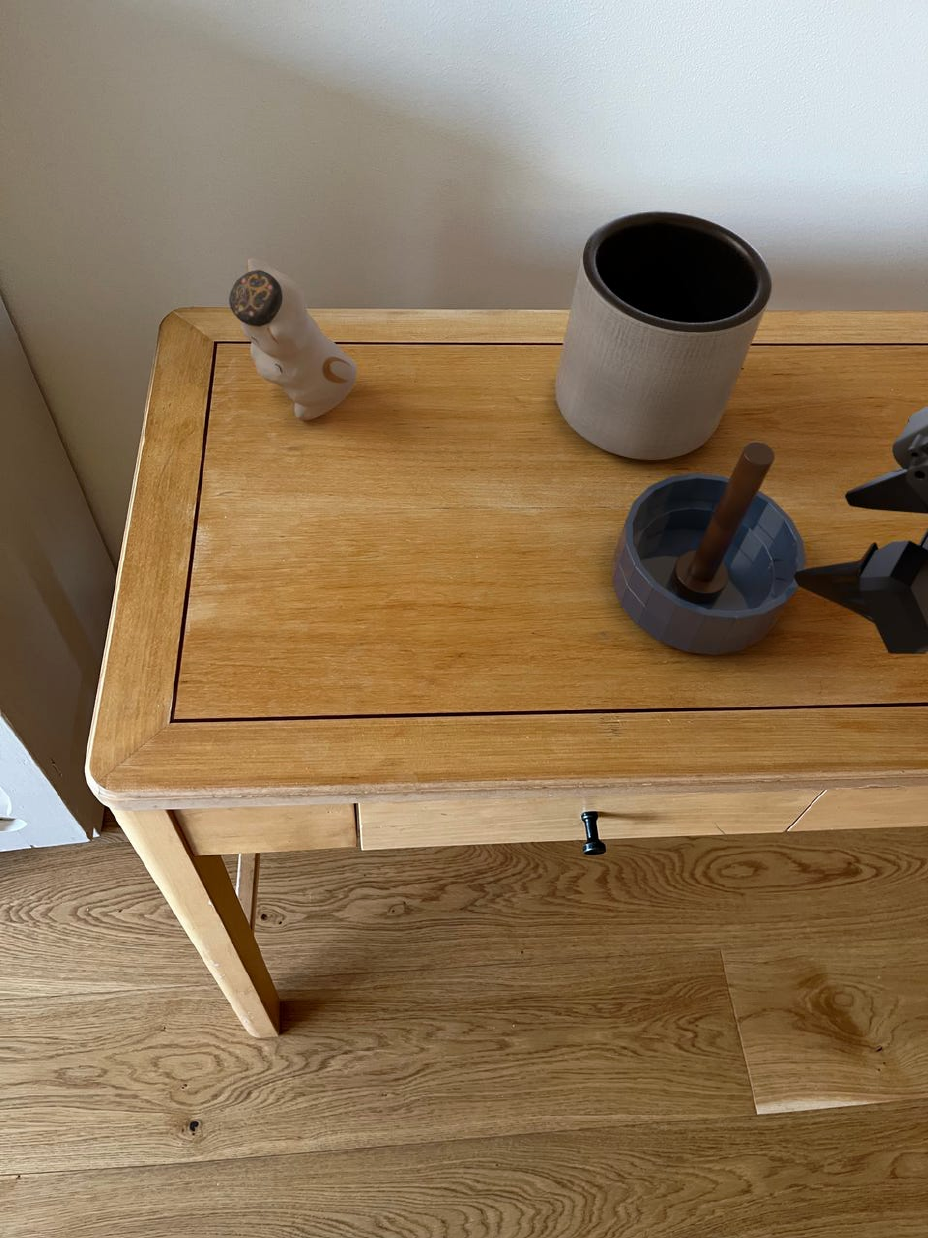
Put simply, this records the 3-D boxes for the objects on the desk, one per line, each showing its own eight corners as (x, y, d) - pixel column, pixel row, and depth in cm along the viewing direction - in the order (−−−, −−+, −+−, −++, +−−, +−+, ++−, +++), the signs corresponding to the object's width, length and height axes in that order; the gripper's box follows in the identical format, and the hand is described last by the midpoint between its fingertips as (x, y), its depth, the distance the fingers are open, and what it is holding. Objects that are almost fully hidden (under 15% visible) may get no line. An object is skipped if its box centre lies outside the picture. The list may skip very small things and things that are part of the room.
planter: (752, 428, 88) (815, 292, 75) (622, 492, 83) (665, 357, 70) (646, 328, 95) (687, 187, 82) (519, 382, 90) (542, 240, 77)
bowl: (739, 508, 83) (762, 463, 78) (806, 642, 76) (835, 601, 70) (588, 531, 80) (602, 485, 75) (642, 671, 73) (661, 631, 68)
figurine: (247, 376, 88) (223, 235, 75) (353, 370, 89) (347, 230, 76) (251, 444, 83) (226, 306, 70) (363, 436, 84) (358, 299, 72)
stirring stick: (711, 557, 79) (775, 426, 66) (730, 599, 77) (801, 472, 63) (663, 565, 78) (718, 433, 65) (681, 608, 76) (742, 480, 63)
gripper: (1075, 310, 55) (831, 371, 67) (976, 499, 46) (716, 529, 59) (1122, 463, 60) (885, 494, 72) (1039, 662, 51) (785, 658, 63)
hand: (822, 537), depth 66 cm, fingers open, 9 cm apart
